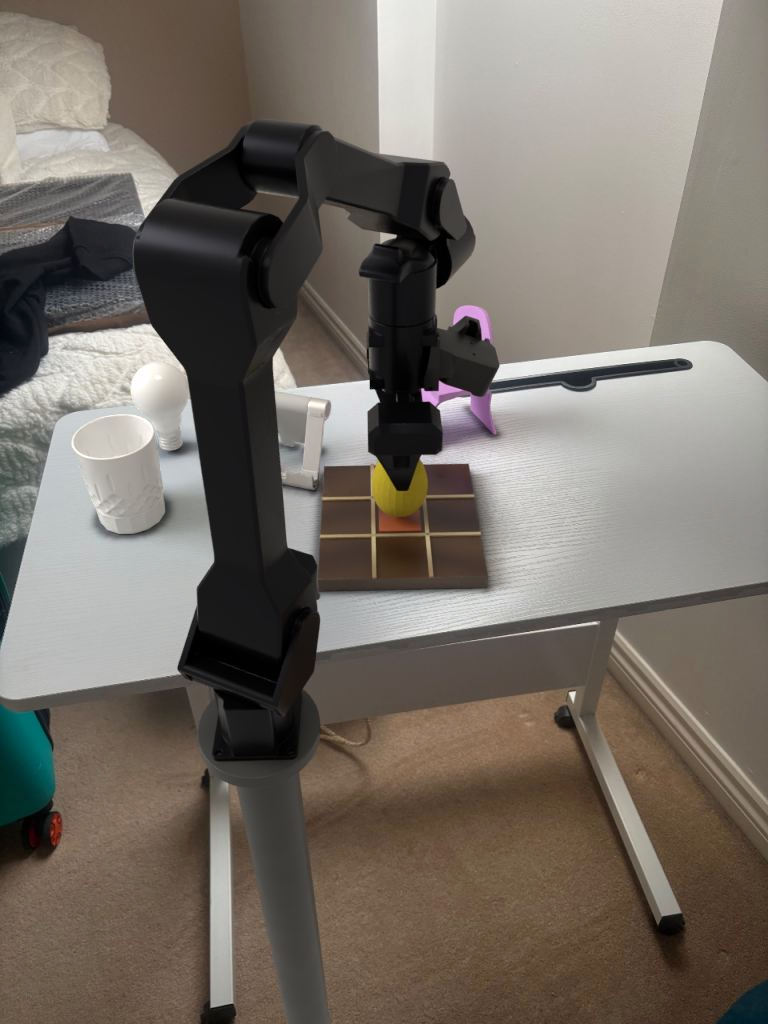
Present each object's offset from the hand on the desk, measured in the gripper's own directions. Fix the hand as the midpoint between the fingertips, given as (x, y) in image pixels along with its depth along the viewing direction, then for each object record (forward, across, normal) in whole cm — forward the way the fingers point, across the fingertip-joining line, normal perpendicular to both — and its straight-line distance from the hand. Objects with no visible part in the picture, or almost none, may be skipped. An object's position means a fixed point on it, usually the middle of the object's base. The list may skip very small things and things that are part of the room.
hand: (400, 460), depth 80 cm
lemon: (+7, 0, 0) cm, 7 cm away
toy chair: (+9, +18, -7) cm, 21 cm away
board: (+8, 0, 0) cm, 8 cm away
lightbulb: (+9, +15, +26) cm, 31 cm away
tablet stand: (+9, +11, +12) cm, 18 cm away
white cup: (+9, +3, +28) cm, 30 cm away
